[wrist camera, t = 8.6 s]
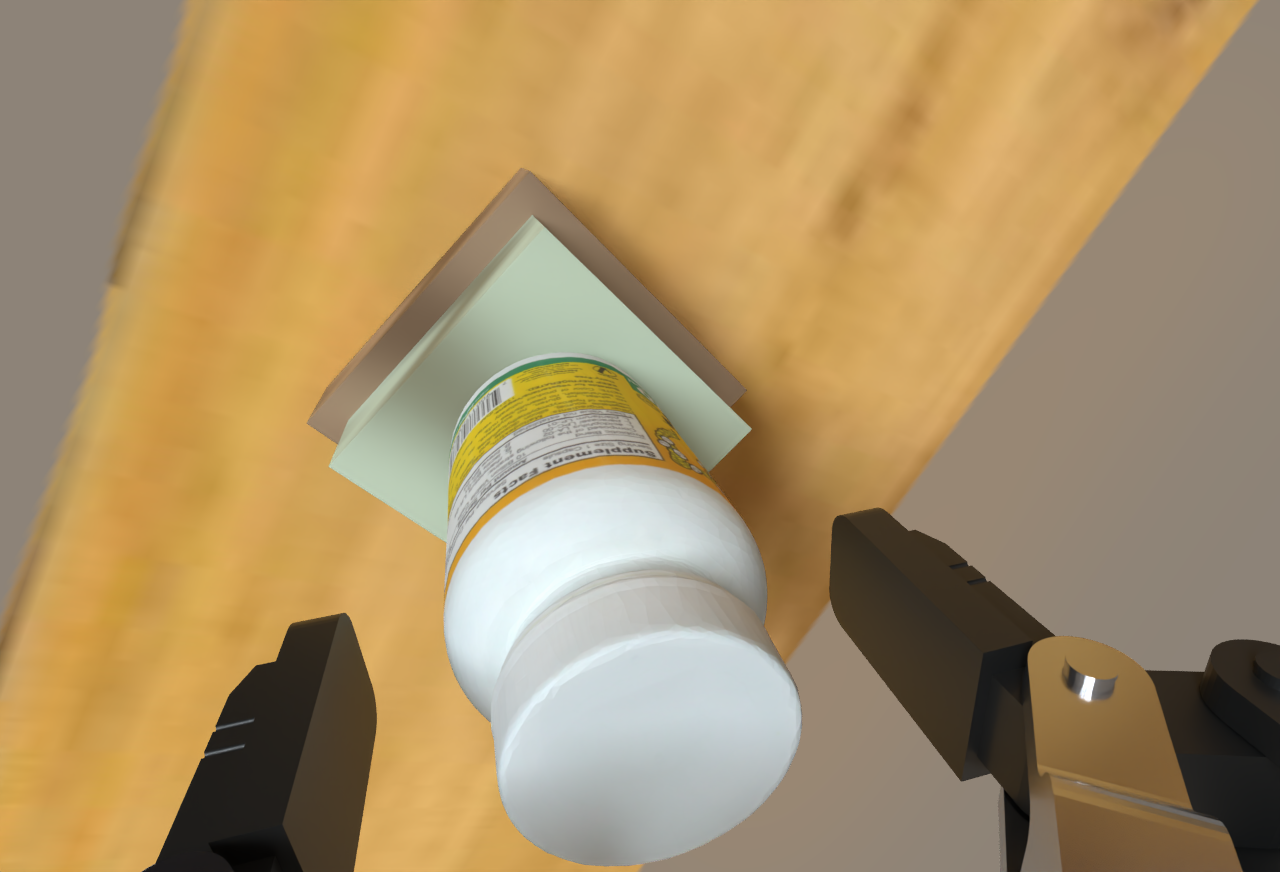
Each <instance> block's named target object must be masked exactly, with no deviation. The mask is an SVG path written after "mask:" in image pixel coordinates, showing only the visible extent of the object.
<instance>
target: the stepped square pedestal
mask: <svg viewBox="0 0 1280 872" xmlns="http://www.w3.org/2000/svg"><path fill="white" fill-rule="evenodd" d="M557 352H572V353H581V354H586V355H591V356H594V357H598V358H601V359H603V360H605V361H607V362H609V363H611V364H613V365H615V366H617V367H618V368H620V369H621V370H623V371H624V372H625V373H627V374H628V375H629V376H630V377H631V378H633V379H634V380H635V381H636V382H637V383H638V384H639V385H640V386H641V387H642V388H643V389H644V390H645V391H646V392H647V393H648V394H649V395H650V396H651V398H652V399H653V400H654V402H655V403H656V404H657V405H658V406H659V407H660V409H661V410H662V412H663V413H664V414H665V416H666V417H667V418H668V420H669V421H670V422H671V424H672V425H673V427H674V428H675V429H676V431H677V432H678V434H679V435H680V436H681V438H682V439H683V440H684V442H685V443H686V444H687V446H688V447H689V448H690V449H691V451H692V452H693V453H694V454H695V456H696V457H697V458H698V460H699V461H700V462H701V464H702V465H703V466H704V468H705V469H706V470H707V471H708V472H710V471H711V470H712V469H713V468H714V467H715V466H716V465H717V464H718V463H719V462H720V461H721V460H722V459H723V458H724V457H725V456H726V455H727V454H728V453H729V452H730V451H731V450H732V449H733V448H734V447H735V446H736V445H737V444H738V443H739V442H740V441H741V440H742V439H743V438H744V437H745V436H746V435H747V434H748V433H749V432H750V431H751V430H752V429H751V428H750V427H749V426H748V425H747V424H746V423H745V422H744V421H743V420H742V419H741V418H740V417H739V416H738V415H737V414H736V413H735V412H734V411H733V410H732V409H731V408H730V407H731V406H732V405H733V404H734V403H735V402H736V401H737V400H738V399H739V398H740V397H741V396H742V395H743V394H744V393H745V392H746V391H747V390H746V389H745V388H744V387H743V386H742V385H741V384H740V383H739V382H738V381H737V380H736V379H735V378H734V377H733V376H732V375H731V374H730V373H729V372H728V371H727V370H726V369H725V368H724V367H723V366H722V365H721V364H720V362H719V361H718V360H717V359H716V358H715V357H714V356H713V355H712V354H711V353H710V352H709V351H708V350H707V349H706V348H705V347H704V346H703V345H702V344H701V343H700V342H699V341H698V340H697V339H696V338H695V337H694V336H693V335H692V334H691V333H690V332H689V331H688V330H687V329H686V328H685V327H684V326H683V325H682V324H681V323H680V322H679V321H678V320H677V319H676V318H675V317H674V316H673V315H672V314H671V313H670V312H669V311H668V310H667V309H666V308H665V307H664V306H663V305H662V304H661V303H660V302H659V301H658V300H657V299H656V298H655V297H654V296H653V295H652V294H651V293H650V292H649V291H648V290H647V289H646V288H645V287H644V286H643V285H642V284H641V283H640V282H639V281H638V280H637V279H636V278H635V277H634V276H633V275H632V274H631V273H630V272H629V271H628V270H627V269H626V268H625V267H624V266H623V265H622V264H621V263H620V262H619V261H618V259H617V258H616V257H615V256H614V255H613V254H612V253H611V252H610V251H609V250H608V249H607V248H606V247H605V246H604V245H603V244H602V243H601V242H600V241H599V240H598V239H597V238H596V237H595V236H594V235H593V234H592V233H591V232H590V231H589V230H588V229H587V228H586V227H585V226H584V225H583V224H582V223H581V222H580V221H579V220H578V219H577V218H576V217H575V216H574V215H573V214H572V213H571V212H570V211H569V210H568V209H567V208H566V207H565V206H564V205H563V204H562V203H561V202H560V201H559V200H558V199H557V198H556V197H555V196H554V195H553V194H552V193H551V192H550V191H549V190H548V189H547V188H546V187H545V186H544V185H543V184H542V183H541V182H540V181H539V180H538V179H537V178H536V177H535V176H534V175H533V174H532V173H531V172H530V171H528V170H525V169H523V168H521V169H520V170H519V171H518V172H517V173H516V174H515V175H514V176H513V178H512V179H511V180H510V181H509V182H508V183H507V184H506V186H505V187H504V188H503V189H502V190H501V191H500V192H499V193H498V195H497V196H496V197H495V198H494V199H493V200H492V201H491V203H490V204H489V205H488V206H487V207H486V208H485V209H484V210H483V212H482V213H481V214H480V215H479V216H478V217H477V218H476V219H475V221H474V222H473V223H472V224H471V225H470V226H469V227H468V229H467V230H466V231H465V232H464V233H463V234H462V235H461V236H460V238H459V239H458V240H457V241H456V242H455V243H454V244H453V246H452V247H451V248H450V249H449V250H448V251H447V252H446V253H445V255H444V256H443V257H442V258H441V259H440V260H439V261H438V262H437V264H436V265H435V266H434V267H433V268H432V269H431V270H430V272H429V273H428V274H427V275H426V276H425V277H424V278H423V279H422V281H421V282H420V283H419V284H418V285H417V286H416V287H415V289H414V290H413V291H412V292H411V293H410V294H409V295H408V296H407V298H406V299H405V300H404V301H403V302H402V303H401V304H400V305H399V307H398V308H397V309H396V310H395V311H394V312H393V313H392V315H391V316H390V317H389V318H388V319H387V320H386V321H385V322H384V324H383V325H382V326H381V327H380V328H379V329H378V330H377V332H376V333H375V334H374V335H373V336H372V337H371V338H370V339H369V341H368V342H367V343H366V344H365V345H364V346H363V347H362V348H361V350H360V351H359V352H358V353H357V354H356V355H355V356H354V358H353V359H352V360H351V361H350V362H349V363H348V364H347V365H346V367H345V368H344V369H343V370H342V371H341V372H340V373H339V375H338V376H337V377H336V378H335V379H334V380H333V381H332V382H331V384H330V385H329V386H328V387H327V388H326V390H325V392H324V393H323V395H322V397H321V399H320V400H319V402H318V404H317V406H316V407H315V409H314V411H313V413H312V415H311V416H310V418H309V420H308V422H307V424H308V425H310V426H311V427H313V428H314V429H316V430H317V431H319V432H320V433H322V434H323V435H325V436H326V437H328V438H329V439H331V440H332V441H334V442H335V443H337V444H338V446H337V448H336V450H335V453H334V455H333V457H332V460H331V462H330V465H329V467H330V468H332V469H333V470H335V471H336V472H338V473H339V474H341V475H343V476H344V477H346V478H347V479H349V480H350V481H352V482H353V483H355V484H356V485H358V486H360V487H361V488H363V489H364V490H366V491H367V492H369V493H370V494H372V495H373V496H375V497H377V498H378V499H380V500H381V501H383V502H384V503H386V504H387V505H389V506H390V507H392V508H393V509H395V510H397V511H398V512H400V513H401V514H403V515H404V516H406V517H407V518H409V519H410V520H412V521H414V522H415V523H417V524H418V525H420V526H421V527H423V528H424V529H426V530H427V531H429V532H431V533H432V534H434V535H435V536H437V537H438V538H440V539H441V540H443V541H444V542H446V543H447V526H448V470H449V455H450V447H451V441H452V437H453V432H454V429H455V427H456V424H457V421H458V419H459V417H460V415H461V413H462V411H463V409H464V407H465V406H466V404H467V403H468V401H469V400H470V398H471V397H472V396H473V395H474V394H475V392H476V391H477V390H478V389H479V388H480V387H481V386H482V385H483V384H484V383H485V382H486V381H488V380H489V379H490V378H491V377H492V376H494V375H495V374H497V373H498V372H500V371H501V370H503V369H504V368H506V367H508V366H510V365H512V364H514V363H516V362H518V361H521V360H523V359H526V358H529V357H533V356H537V355H543V354H548V353H557Z"/></svg>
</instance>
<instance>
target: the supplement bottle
mask: <svg viewBox="0 0 1280 872" xmlns="http://www.w3.org/2000/svg"><path fill="white" fill-rule="evenodd" d="M766 610H767V581H766V574H765V568H764V564H763V560H762V557H761V554H760V551H759V548H758V546H757V544H756V542H755V540H754V537H753V536H752V534H751V532H750V530H749V528H748V527H747V525H746V524H745V522H744V521H743V519H742V518H741V516H740V515H739V514H738V512H737V511H736V510H735V508H734V507H733V505H732V504H731V503H730V501H729V500H728V498H727V497H726V496H725V494H724V493H723V492H722V490H721V489H720V488H719V486H718V485H717V483H716V482H715V480H714V479H713V478H712V477H711V475H710V474H709V472H708V471H707V470H706V469H705V468H704V466H703V465H702V464H701V462H700V461H699V460H698V458H697V457H696V456H695V454H694V453H693V452H692V451H691V449H690V448H689V447H688V446H687V444H686V443H685V442H684V440H683V439H682V438H681V436H680V435H679V434H678V432H677V431H676V429H675V428H674V427H673V425H672V424H671V422H670V421H669V420H668V418H667V417H666V416H665V414H664V413H663V412H662V410H661V409H660V407H659V406H658V405H657V404H656V403H655V402H654V400H653V399H652V398H651V396H650V395H649V394H648V393H647V392H646V391H645V390H644V389H643V388H642V387H641V386H640V385H639V384H638V383H637V382H636V381H635V380H634V379H633V378H631V377H630V376H629V375H628V374H627V373H625V372H624V371H623V370H621V369H620V368H618V367H617V366H615V365H613V364H611V363H609V362H607V361H605V360H603V359H601V358H598V357H594V356H591V355H586V354H581V353H572V352H557V353H548V354H543V355H537V356H533V357H529V358H526V359H523V360H521V361H518V362H516V363H514V364H512V365H510V366H508V367H506V368H504V369H503V370H501V371H500V372H498V373H497V374H495V375H494V376H492V377H491V378H490V379H489V380H488V381H486V382H485V383H484V384H483V385H482V386H481V387H480V388H479V389H478V390H477V391H476V392H475V394H474V395H473V396H472V397H471V398H470V400H469V401H468V403H467V404H466V406H465V407H464V409H463V411H462V413H461V415H460V417H459V419H458V421H457V424H456V427H455V429H454V432H453V437H452V441H451V447H450V455H449V470H448V526H447V548H446V567H445V590H444V636H445V642H446V648H447V654H448V657H449V661H450V664H451V667H452V670H453V672H454V675H455V677H456V679H457V681H458V683H459V685H460V687H461V688H462V690H463V692H464V693H465V695H466V696H467V698H468V699H469V700H470V702H471V703H472V704H473V706H474V707H475V708H476V709H477V710H478V711H479V712H480V713H481V714H482V715H483V716H484V717H485V718H486V719H487V720H488V721H489V722H491V729H492V734H493V738H494V746H495V758H496V771H497V780H498V787H499V792H500V796H501V800H502V803H503V806H504V808H505V810H506V813H507V815H508V816H509V818H510V820H511V822H512V823H513V824H514V826H515V827H516V828H517V829H518V831H519V832H520V833H521V834H522V835H523V836H524V837H525V838H526V839H528V840H529V841H530V842H532V843H533V844H534V845H535V846H537V847H539V848H540V849H542V850H544V851H545V852H547V853H549V854H552V855H555V856H557V857H560V858H562V859H565V860H569V861H572V862H575V863H579V864H584V865H595V866H630V865H637V864H644V863H649V862H654V861H659V860H665V859H668V858H671V857H674V856H677V855H680V854H683V853H686V852H688V851H690V850H693V849H695V848H698V847H700V846H702V845H705V844H707V843H708V842H710V841H711V840H713V839H715V838H717V837H719V836H721V835H723V834H724V833H726V832H727V831H729V830H730V829H732V828H733V827H735V826H737V825H738V824H740V823H741V822H742V821H744V820H745V819H746V818H748V817H749V816H750V815H751V814H752V813H753V812H755V811H756V810H757V809H758V808H759V807H760V806H761V805H762V804H763V803H764V802H765V801H766V800H767V798H768V797H769V796H770V794H772V792H773V791H774V790H775V789H776V787H777V786H778V785H779V783H780V782H781V780H782V779H783V777H784V776H785V774H786V773H787V771H788V769H789V767H790V765H791V762H792V760H793V758H794V756H795V753H796V750H797V747H798V744H799V741H800V734H801V728H802V710H801V704H800V698H799V694H798V689H797V686H796V684H795V682H794V680H793V678H792V676H791V674H790V672H789V670H788V669H787V667H786V665H785V663H784V662H783V660H782V658H781V656H780V655H779V653H778V651H777V649H776V648H775V646H774V644H773V642H772V640H771V639H770V637H769V635H768V633H767V631H766V629H765V627H764V622H765V617H766Z"/></svg>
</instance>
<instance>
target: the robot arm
mask: <svg viewBox="0 0 1280 872" xmlns="http://www.w3.org/2000/svg"><path fill="white" fill-rule="evenodd" d="M829 592H830V599H831V604H832V607H833V611H834V613H835V616H836V618H837V620H838V622H839V623H840V625H841V626H842V628H843V629H844V630H845V632H846V633H847V634H848V635H849V637H850V638H851V639H852V641H853V642H854V643H855V645H856V646H857V647H858V648H859V650H860V651H861V652H862V654H863V655H864V656H865V657H866V659H867V660H868V661H869V663H870V664H871V665H872V666H873V668H874V669H875V670H876V672H877V673H878V674H879V676H880V677H881V678H882V680H883V681H884V682H885V683H886V685H887V686H888V687H889V689H890V690H891V691H892V692H893V694H894V695H895V696H896V698H897V699H898V700H899V702H900V703H901V704H902V705H903V707H904V708H905V709H906V711H907V712H908V713H909V714H910V716H911V717H912V718H913V720H914V721H915V722H916V724H917V725H918V726H919V727H920V729H921V730H922V731H923V733H924V734H925V735H926V736H927V738H928V739H929V740H930V742H931V743H932V744H933V746H934V747H935V748H936V749H937V751H938V752H939V753H940V755H941V756H942V757H943V759H944V760H945V761H946V762H947V764H948V765H949V766H950V768H951V769H952V770H953V771H954V773H955V774H956V775H957V777H958V778H959V779H960V781H966V780H969V779H972V778H976V777H979V776H983V775H987V774H990V773H991V774H992V775H993V776H994V778H995V779H996V780H997V781H998V783H999V784H1000V785H1001V788H1000V793H999V800H998V813H999V843H1000V844H999V845H1000V872H1280V645H1276V644H1271V643H1268V642H1262V641H1256V640H1230V641H1226V642H1222V643H1220V644H1218V645H1217V646H1215V647H1214V649H1213V650H1212V652H1211V655H1210V658H1209V660H1208V663H1207V666H1206V669H1205V672H1187V671H1186V672H1185V671H1148V670H1147V671H1146V670H1144V669H1143V668H1142V667H1141V666H1140V665H1139V664H1137V663H1136V662H1135V661H1134V660H1132V659H1131V658H1129V657H1128V656H1126V655H1125V654H1123V653H1122V652H1120V651H1118V650H1116V649H1114V648H1112V647H1110V646H1107V645H1105V644H1102V643H1099V642H1096V641H1093V640H1088V639H1085V638H1079V637H1072V636H1055V635H1054V634H1053V633H1051V632H1050V631H1049V630H1048V629H1047V628H1045V627H1044V626H1043V625H1042V624H1041V623H1039V622H1038V621H1037V620H1036V619H1035V618H1033V617H1032V616H1031V615H1030V614H1028V613H1027V612H1026V611H1025V610H1024V609H1023V608H1021V607H1020V606H1019V605H1018V604H1017V603H1016V602H1014V601H1013V600H1012V599H1011V598H1010V597H1008V596H1007V595H1006V594H1005V593H1004V592H1002V591H1001V590H1000V589H999V588H998V587H996V586H995V585H994V584H993V583H992V582H990V581H989V582H987V581H986V579H985V577H984V576H983V575H982V574H981V573H980V572H979V571H977V570H976V569H975V568H974V567H973V566H968V564H967V561H965V560H964V559H963V558H962V557H961V556H960V555H958V554H957V553H956V552H955V551H954V550H952V549H951V548H950V547H949V546H948V545H946V544H945V543H943V542H941V541H939V540H937V539H934V538H932V537H930V536H928V535H925V534H923V533H921V532H919V531H917V530H912V531H908V530H907V529H906V528H904V527H903V526H902V525H901V524H900V523H899V522H898V521H896V520H895V519H894V518H893V517H892V516H891V515H890V514H889V513H887V512H886V511H885V510H884V509H881V508H874V509H869V510H864V511H859V512H854V513H849V514H844V515H839V516H837V517H836V518H835V519H834V522H833V526H832V543H831V564H830V586H829ZM376 725H377V713H376V702H375V696H374V691H373V687H372V684H371V681H370V678H369V675H368V671H367V668H366V665H365V662H364V659H363V656H362V653H361V650H360V647H359V643H358V640H357V637H356V634H355V631H354V628H353V625H352V622H351V620H350V618H349V616H348V615H347V614H346V613H341V614H336V615H331V616H326V617H321V618H316V619H311V620H306V621H301V622H296V623H292V624H291V625H290V627H289V628H288V630H287V633H286V636H285V638H284V641H283V644H282V646H281V649H280V652H279V654H278V657H277V660H276V661H275V662H271V663H266V664H261V665H256V666H255V667H254V668H253V669H252V670H251V672H250V673H249V674H248V675H247V676H246V677H245V678H244V679H243V680H242V681H241V683H240V684H239V685H238V686H237V687H236V688H235V689H234V690H233V691H232V692H231V694H230V695H229V697H228V699H227V701H226V703H225V706H224V708H223V710H222V713H221V715H220V717H219V719H218V722H217V724H216V732H213V733H212V735H211V738H210V740H209V742H208V745H207V747H206V749H205V751H204V753H205V758H203V759H201V761H200V763H199V765H198V768H197V770H196V772H195V774H194V777H193V779H192V781H191V784H190V786H189V788H188V790H187V793H186V795H185V797H184V800H183V802H182V804H181V806H180V809H179V811H178V813H177V816H176V818H175V820H174V822H173V825H172V827H171V829H170V832H169V834H168V836H167V838H166V841H165V843H164V845H163V848H162V850H161V852H160V855H159V857H158V859H157V861H156V863H155V864H154V865H152V866H150V867H148V868H147V869H145V870H144V871H142V872H354V866H355V860H356V854H357V847H358V841H359V835H360V829H361V822H362V816H363V810H364V804H365V797H366V791H367V785H368V778H369V772H370V766H371V760H372V753H373V747H374V741H375V735H376Z"/></svg>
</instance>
